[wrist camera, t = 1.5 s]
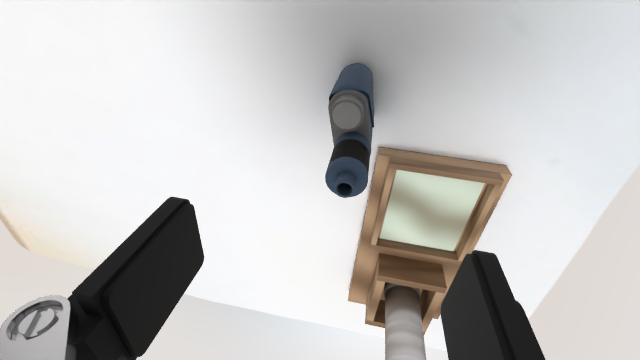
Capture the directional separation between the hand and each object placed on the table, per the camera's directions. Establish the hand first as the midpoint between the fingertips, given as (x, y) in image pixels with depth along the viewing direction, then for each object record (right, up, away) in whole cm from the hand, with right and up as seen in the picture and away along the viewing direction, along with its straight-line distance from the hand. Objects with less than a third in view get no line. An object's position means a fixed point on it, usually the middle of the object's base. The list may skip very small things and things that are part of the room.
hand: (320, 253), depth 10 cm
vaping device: (+3, +10, +15) cm, 18 cm away
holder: (+10, -4, +22) cm, 24 cm away
